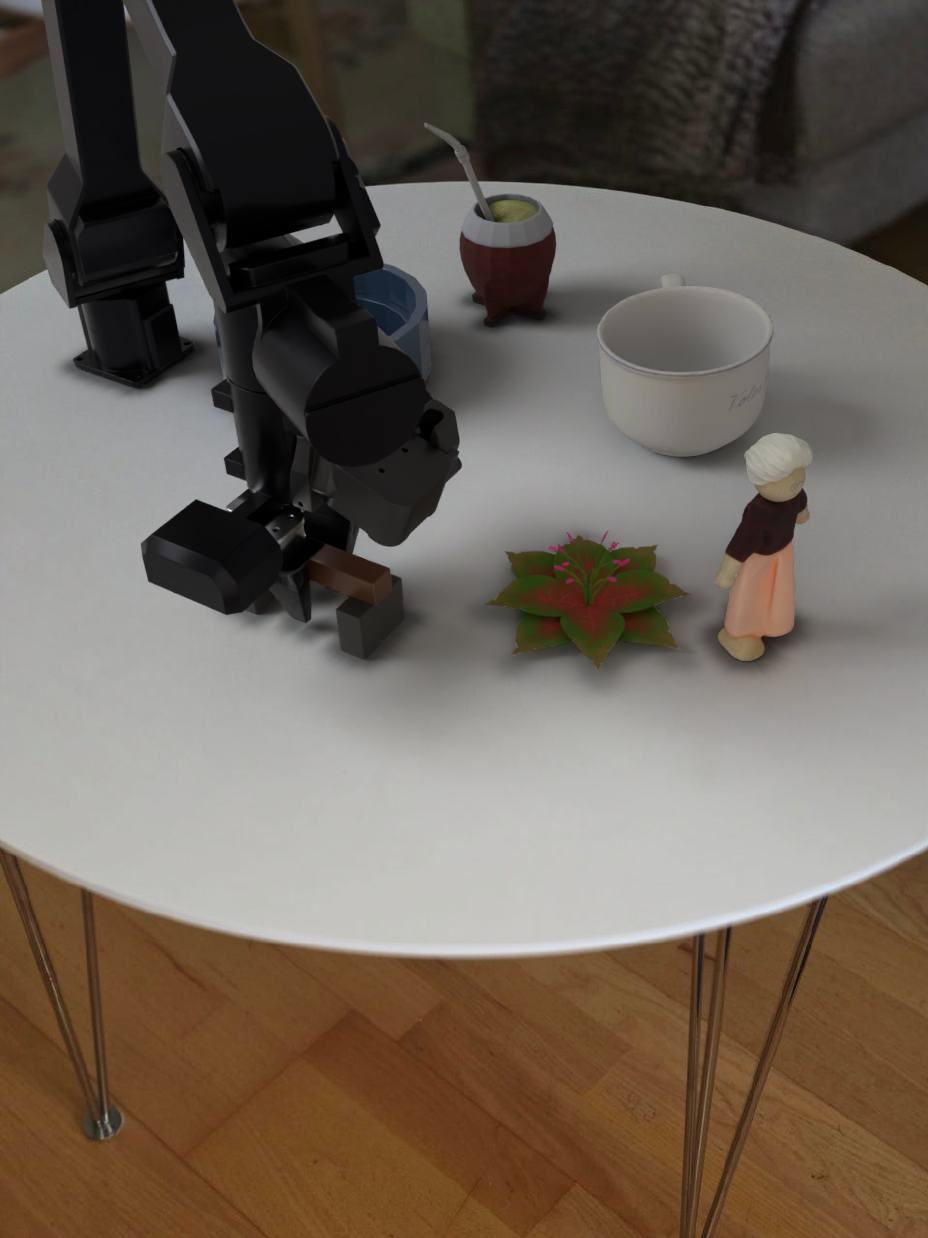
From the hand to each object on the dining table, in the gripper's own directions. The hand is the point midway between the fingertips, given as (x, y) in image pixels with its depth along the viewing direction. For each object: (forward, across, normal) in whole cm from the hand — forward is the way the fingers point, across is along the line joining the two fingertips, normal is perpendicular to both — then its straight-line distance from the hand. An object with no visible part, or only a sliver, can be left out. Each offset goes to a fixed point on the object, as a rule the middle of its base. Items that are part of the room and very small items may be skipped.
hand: (318, 604), depth 78 cm
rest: (+1, 0, 0) cm, 1 cm away
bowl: (+1, +21, +15) cm, 26 cm away
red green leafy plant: (+1, +8, -13) cm, 15 cm away
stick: (-2, 0, 0) cm, 2 cm away
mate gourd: (+1, +35, +9) cm, 36 cm away
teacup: (+1, +28, -9) cm, 29 cm away
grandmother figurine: (+1, +11, -22) cm, 25 cm away
